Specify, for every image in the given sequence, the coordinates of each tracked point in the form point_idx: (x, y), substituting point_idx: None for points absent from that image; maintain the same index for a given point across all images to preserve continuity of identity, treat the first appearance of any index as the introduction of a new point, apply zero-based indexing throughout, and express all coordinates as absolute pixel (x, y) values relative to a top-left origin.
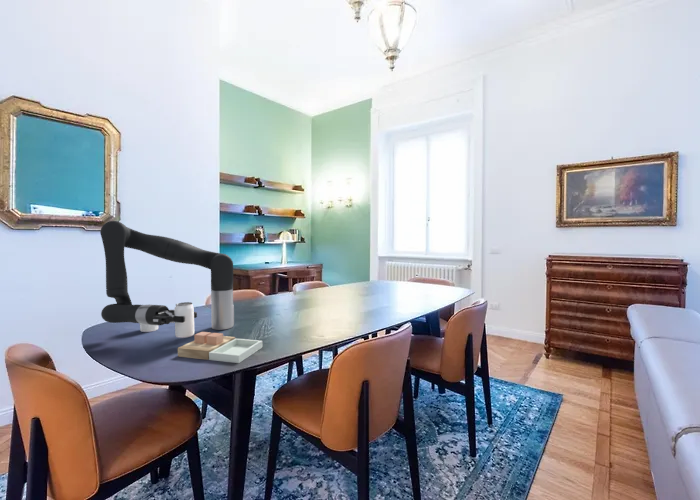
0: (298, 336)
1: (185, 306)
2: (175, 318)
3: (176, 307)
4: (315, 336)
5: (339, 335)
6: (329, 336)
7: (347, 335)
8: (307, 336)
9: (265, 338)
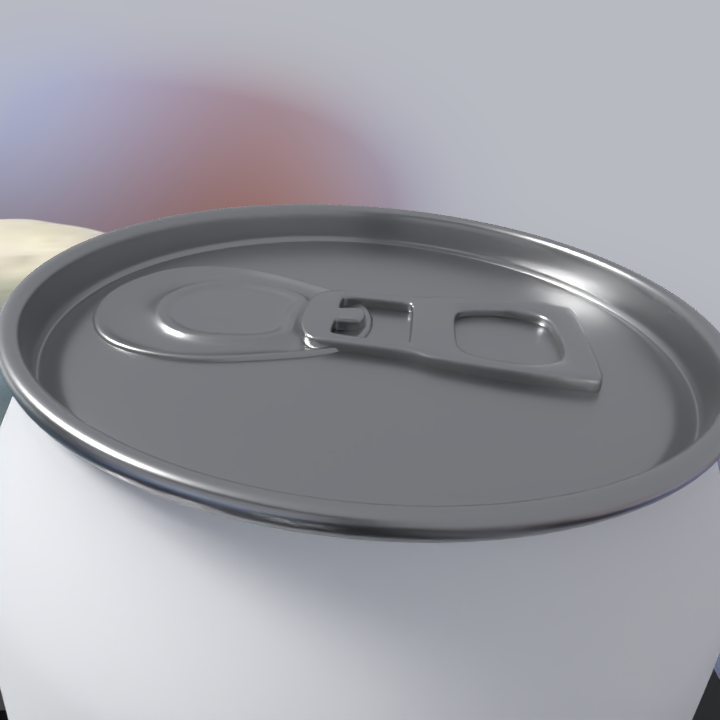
0: (3, 305)
1: (520, 275)
2: (715, 693)
3: (715, 468)
4: (22, 270)
5: (24, 232)
6: (34, 246)
7: (31, 222)
8: (13, 285)
9: (9, 399)
